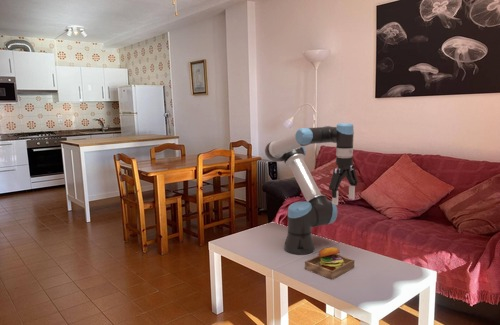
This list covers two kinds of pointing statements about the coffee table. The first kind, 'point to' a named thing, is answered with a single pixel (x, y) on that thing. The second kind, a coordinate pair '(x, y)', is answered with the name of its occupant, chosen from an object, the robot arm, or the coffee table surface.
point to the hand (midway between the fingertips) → (343, 201)
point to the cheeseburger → (330, 258)
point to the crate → (317, 268)
